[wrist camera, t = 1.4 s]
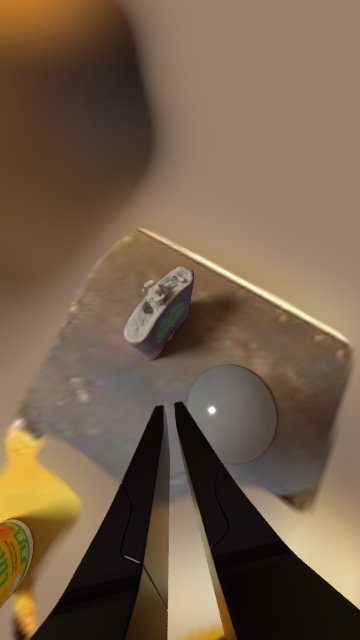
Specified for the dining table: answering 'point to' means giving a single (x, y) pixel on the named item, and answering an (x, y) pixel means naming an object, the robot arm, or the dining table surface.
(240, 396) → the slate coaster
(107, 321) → the dining table surface
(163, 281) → the flask
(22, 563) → the supplement bottle
